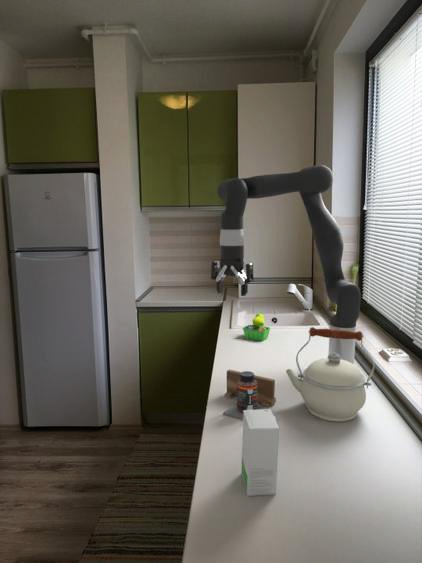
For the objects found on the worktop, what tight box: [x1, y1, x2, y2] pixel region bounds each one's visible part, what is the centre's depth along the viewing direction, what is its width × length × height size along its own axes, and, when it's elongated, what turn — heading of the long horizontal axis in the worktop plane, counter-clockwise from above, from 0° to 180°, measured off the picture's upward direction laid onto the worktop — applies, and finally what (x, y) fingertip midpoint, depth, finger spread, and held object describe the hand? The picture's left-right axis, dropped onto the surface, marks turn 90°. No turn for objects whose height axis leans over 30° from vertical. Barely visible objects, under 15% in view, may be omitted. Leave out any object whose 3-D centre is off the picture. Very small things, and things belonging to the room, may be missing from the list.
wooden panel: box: [224, 369, 277, 408], centre depth 133 cm, size 6×16×8 cm, turn 57°
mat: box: [222, 401, 270, 421], centre depth 125 cm, size 10×10×1 cm
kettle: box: [284, 326, 375, 422], centre depth 124 cm, size 25×18×25 cm
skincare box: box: [240, 408, 280, 497], centre depth 91 cm, size 8×7×16 cm
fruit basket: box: [242, 312, 271, 342], centre depth 196 cm, size 11×9×11 cm
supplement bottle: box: [236, 370, 258, 413], centre depth 124 cm, size 6×6×11 cm
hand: (231, 294), depth 136 cm, fingers open, 8 cm apart
